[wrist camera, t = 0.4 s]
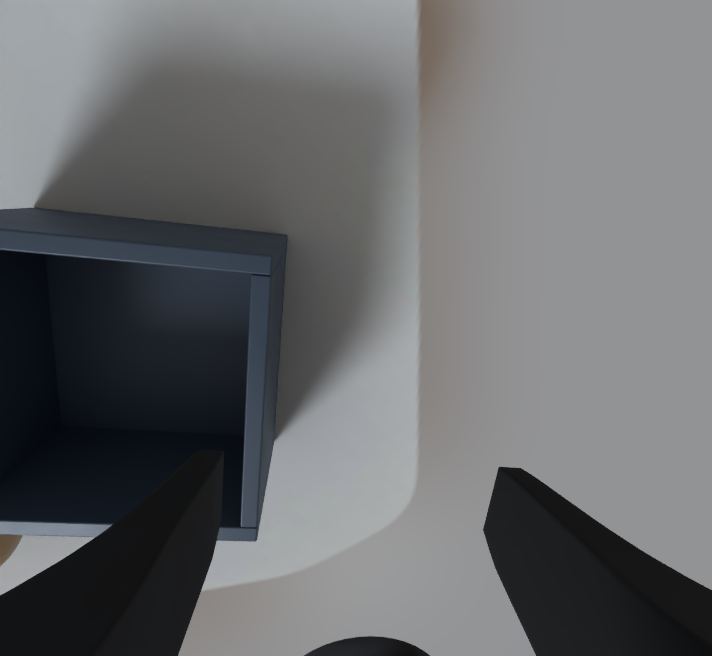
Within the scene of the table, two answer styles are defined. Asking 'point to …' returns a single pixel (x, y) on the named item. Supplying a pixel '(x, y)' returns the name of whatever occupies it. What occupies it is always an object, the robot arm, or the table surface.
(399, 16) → the table surface
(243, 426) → the bin
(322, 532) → the table surface
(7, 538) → the brown ball
